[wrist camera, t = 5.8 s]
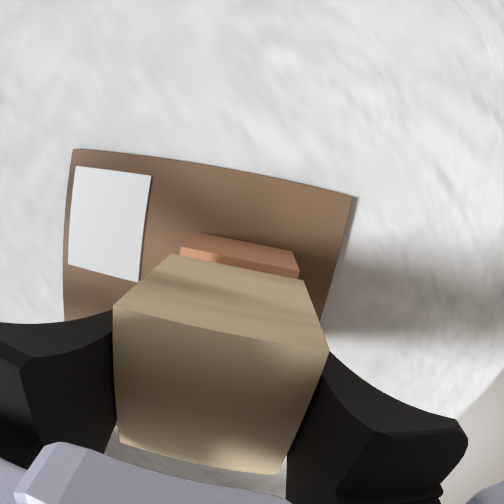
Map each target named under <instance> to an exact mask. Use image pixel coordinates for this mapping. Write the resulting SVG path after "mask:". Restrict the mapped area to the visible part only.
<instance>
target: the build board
mask: <svg viewBox="0 0 504 504" xmlns="http://www.w3.org/2000/svg"><path fill="white" fill-rule="evenodd" d="M352 197H353V196H349V195H345V194H341V193H337V192H333V191H329V190H325V189H321V188H317V187H312V186H308V185H304V184H299V183H295V182H290V181H286V180H281V179H277V178H272V177H267V176H262V175H257V174H252V173H247V172H242V171H236V170H231V169H225V168H220V167H214V166H208V165H202V164H196V163H190V162H183V161H177V160H170V159H163V158H156V157H148V156H140V155H132V154H124V153H115V152H105V151H95V150H84V149H73V152H72V158H71V165H70V172H69V179H68V188H67V197H66V208H65V221H64V239H63V301H64V319H65V321H70V320H76V319H81V318H85V317H89V316H92V315H96V314H99V313H102V312H106V311H109V310H112V309H113V305H114V304H115V303H116V302H117V301H118V300H119V299H120V298H121V297H123V296H124V295H125V294H126V293H127V292H128V291H129V290H130V289H131V288H133V287H134V286H135V285H136V284H137V283H138V282H139V281H140V280H142V279H143V278H144V277H145V276H146V275H147V274H148V273H150V272H151V271H152V270H153V269H154V268H155V267H156V266H158V265H159V264H160V263H161V262H162V261H163V260H165V259H166V258H167V257H168V256H169V255H170V254H176V255H180V249H181V246H182V245H183V244H184V243H186V242H187V241H188V240H189V239H190V238H191V237H193V236H194V235H195V234H196V233H197V232H199V233H204V234H209V235H214V236H219V237H224V238H229V239H234V240H239V241H244V242H249V243H254V244H259V245H264V246H269V247H274V248H279V249H283V250H288V251H292V253H293V255H294V258H295V260H296V263H297V265H298V268H299V270H300V272H299V276H298V279H299V280H303V281H304V284H305V286H306V289H307V291H308V294H309V296H310V299H311V302H312V304H313V307H314V309H315V312H316V315H317V317H318V320H319V321H320V318H321V314H322V311H323V308H324V304H325V301H326V298H327V294H328V291H329V287H330V284H331V280H332V277H333V273H334V269H335V266H336V262H337V258H338V255H339V251H340V247H341V243H342V239H343V235H344V231H345V227H346V223H347V218H348V214H349V210H350V205H351V201H352ZM115 425H116V426H118V421H117V422H116V424H115Z"/></svg>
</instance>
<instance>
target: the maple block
mask: <svg viewBox="0 0 504 504" xmlns="http://www.w3.org/2000/svg"><path fill="white" fill-rule="evenodd" d="M329 352H330V349H329V347H328V344H327V341H326V339H325V336H324V333H323V331H322V328H321V325H320V323H319V320H318V317H317V315H316V312H315V309H314V307H313V304H312V302H311V299H310V296H309V294H308V291H307V289H306V286H305V284H304V281H303V280H299V279H294V278H289V277H284V276H279V275H274V274H269V273H264V272H259V271H254V270H249V269H244V268H239V267H234V266H229V265H224V264H219V263H214V262H210V261H205V260H200V259H195V258H191V257H186V256H181V255H176V254H170V255H169V256H168V257H167V258H166V259H165V260H163V261H162V262H161V263H160V264H159V265H158V266H156V267H155V268H154V269H153V270H152V271H151V272H150V273H148V274H147V275H146V276H145V277H144V278H143V279H142V280H140V281H139V282H138V283H137V284H136V285H135V286H134V287H133V288H131V289H130V290H129V291H128V292H127V293H126V294H125V295H124V296H123V297H121V298H120V299H119V300H118V301H117V302H116V303H115V304H114V305H113V366H114V385H115V399H116V411H117V421H118V430H119V438H120V442H121V443H124V444H127V445H130V446H133V447H136V448H139V449H142V450H146V451H149V452H152V453H156V454H159V455H163V456H167V457H171V458H175V459H179V460H183V461H187V462H191V463H196V464H201V465H206V466H211V467H216V468H222V469H228V470H234V471H241V472H248V473H257V474H266V475H277V473H278V471H279V469H280V467H281V465H282V463H283V461H284V459H285V457H286V455H287V453H288V450H289V448H290V446H291V444H292V442H293V440H294V438H295V435H296V433H297V431H298V429H299V426H300V424H301V422H302V420H303V417H304V415H305V413H306V410H307V408H308V405H309V403H310V401H311V398H312V396H313V393H314V391H315V388H316V386H317V383H318V381H319V378H320V376H321V373H322V370H323V368H324V365H325V362H326V360H327V357H328V354H329Z"/></svg>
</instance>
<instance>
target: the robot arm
mask: <svg viewBox="0 0 504 504" xmlns="http://www.w3.org/2000/svg"><path fill="white" fill-rule="evenodd" d="M116 422H117V411H116V399H115V385H114V366H113V309H112V310H109V311H106V312H102V313H99V314H96V315H92V316H89V317H85V318H81V319H76V320H70V321H64V322H57V323H43V324H14V323H3V322H0V504H441V503H440V500H439V498H438V497H441V495H442V494H443V489H442V487H441V485H440V483H441V482H442V481H443V480H444V479H445V478H446V477H447V476H448V475H449V474H450V472H451V471H452V470H453V469H454V468H455V466H456V465H457V464H458V463H459V462H460V460H461V459H462V457H463V456H464V454H465V451H466V449H467V446H468V438H467V436H466V434H465V433H464V431H463V430H462V428H461V426H460V425H459V423H458V422H457V420H455V419H452V418H448V417H444V416H440V415H437V414H433V413H429V412H426V411H423V410H421V409H418V408H415V407H413V406H410V405H408V404H405V403H403V402H401V401H399V400H397V399H395V398H393V397H391V396H389V395H387V394H385V393H383V392H382V391H380V390H378V389H376V388H375V387H373V386H372V385H370V384H369V383H367V382H366V381H364V380H363V379H361V378H360V377H359V376H357V375H356V374H355V373H354V372H352V371H351V370H350V369H349V368H348V367H346V366H345V365H344V364H343V363H342V362H341V361H340V360H338V359H337V358H336V357H335V356H334V355H333V354H332V353H331V352H329V354H328V357H327V360H326V362H325V365H324V368H323V370H322V373H321V376H320V378H319V381H318V383H317V386H316V388H315V391H314V393H313V396H312V398H311V401H310V403H309V405H308V408H307V410H306V413H305V415H304V417H303V420H302V422H301V424H300V426H299V429H298V431H297V433H296V435H295V438H294V440H293V442H292V444H291V446H290V448H289V450H288V453H287V478H286V499H284V498H282V497H279V496H274V495H269V494H264V493H260V492H256V491H251V490H245V489H237V488H230V487H224V486H218V485H212V484H207V483H202V482H197V481H192V480H187V479H183V478H179V477H175V476H171V475H167V474H163V473H159V472H156V471H152V470H149V469H145V468H142V467H139V466H136V465H133V464H130V463H127V462H124V461H121V460H118V459H115V458H112V457H110V456H107V455H104V452H105V449H106V446H107V444H108V441H109V439H110V436H111V434H112V431H113V429H114V427H115V424H116ZM466 504H504V481H502V482H499V483H497V484H494V485H492V486H489V487H487V488H484V489H482V490H480V491H479V492H478V493H476V494H475V495H474V496H473V497H472V498H470V499H469V500H468V501H467V503H466Z"/></svg>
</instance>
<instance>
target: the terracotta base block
mask: <svg viewBox="0 0 504 504" xmlns="http://www.w3.org/2000/svg"><path fill="white" fill-rule="evenodd" d="M180 255H181V256H186V257H191V258H195V259H200V260H205V261H210V262H214V263H219V264H224V265H229V266H234V267H239V268H244V269H249V270H254V271H259V272H264V273H269V274H274V275H279V276H284V277H289V278H294V279H298V276H299V272H300V270H299V268H298V265H297V263H296V260H295V258H294V255H293V253H292V251H288V250H283V249H279V248H274V247H269V246H264V245H259V244H254V243H249V242H244V241H239V240H234V239H229V238H224V237H219V236H214V235H209V234H204V233H199V232H197V233H196V234H195V235H194V236H193V237H191V238H190V239H189V240H188V241H187V242H186V243H184V244H183V245H182V246H181V249H180Z"/></svg>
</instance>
